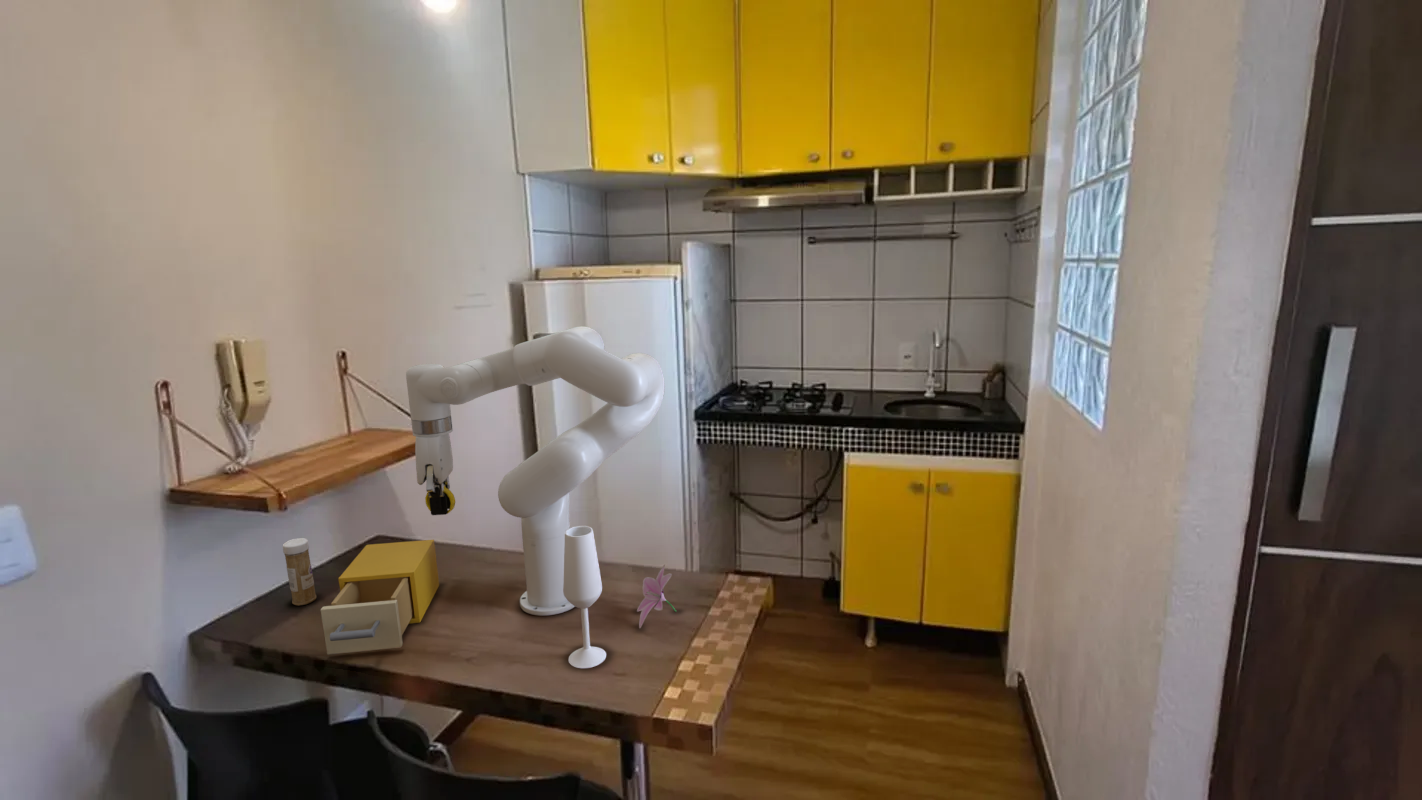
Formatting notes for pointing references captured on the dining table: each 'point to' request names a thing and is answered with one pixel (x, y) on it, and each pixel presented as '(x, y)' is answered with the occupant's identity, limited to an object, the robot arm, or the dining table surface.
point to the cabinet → (399, 569)
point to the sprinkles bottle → (299, 571)
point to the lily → (653, 594)
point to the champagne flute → (582, 588)
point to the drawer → (368, 615)
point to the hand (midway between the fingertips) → (441, 510)
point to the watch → (449, 494)
